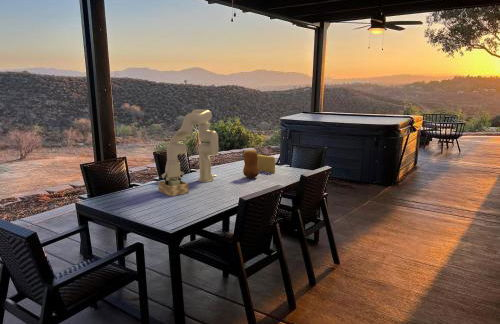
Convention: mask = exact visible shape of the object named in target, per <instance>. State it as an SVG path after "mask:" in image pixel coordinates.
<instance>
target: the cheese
mask: <svg viewBox="0 0 500 324" xmlns="http://www.w3.org/2000/svg"><path fill="white" fill-rule="evenodd" d="M257 156H258V162H257V165H258V168H259V172H263V171H264V173H269V172H271V173H270V174H275V173H276V158H275V156H270V155H264V154H261V153H260V154H257Z"/></svg>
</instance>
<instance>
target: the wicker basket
mask: <svg viewBox="0 0 500 324" xmlns="http://www.w3.org/2000/svg"><path fill="white" fill-rule="evenodd" d="M177 180H178V179H177ZM157 183H158V186H157V187H158V191H159V192H160V193H162V194H163V195H166V196H168V197H176V196H180V195H186V194H189V192H190V191H189V189H190V188H189V183H188V182H185V181H183V180H181V184H180V185H176V186H168V185H166V184H165V180H161V181H157Z"/></svg>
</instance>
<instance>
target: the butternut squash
mask: <svg viewBox="0 0 500 324" xmlns="http://www.w3.org/2000/svg"><path fill="white" fill-rule="evenodd" d="M257 155H258V152H257V150H256V149H246V150H244V152H243V162H244V166H243V170H242V173H243V176H244V177H246V178H249V179H251V180H252V179H255V178H257V177H258V176H259V174H260V171H259V168H258V165H257V162H258V156H257Z"/></svg>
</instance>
